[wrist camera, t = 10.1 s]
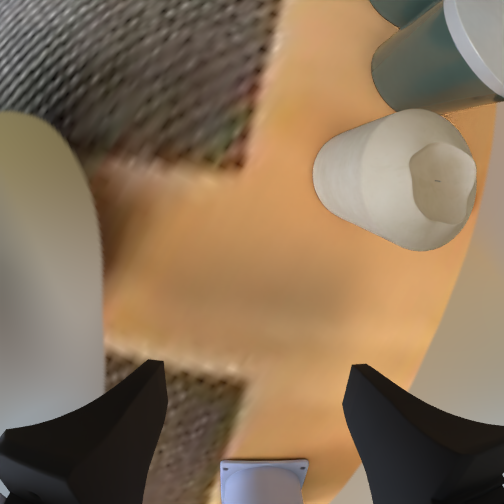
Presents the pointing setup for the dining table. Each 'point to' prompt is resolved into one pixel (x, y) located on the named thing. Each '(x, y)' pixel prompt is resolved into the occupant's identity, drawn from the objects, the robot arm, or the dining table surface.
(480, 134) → the dining table surface
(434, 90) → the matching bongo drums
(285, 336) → the dining table surface
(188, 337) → the dining table surface
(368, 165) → the candle
